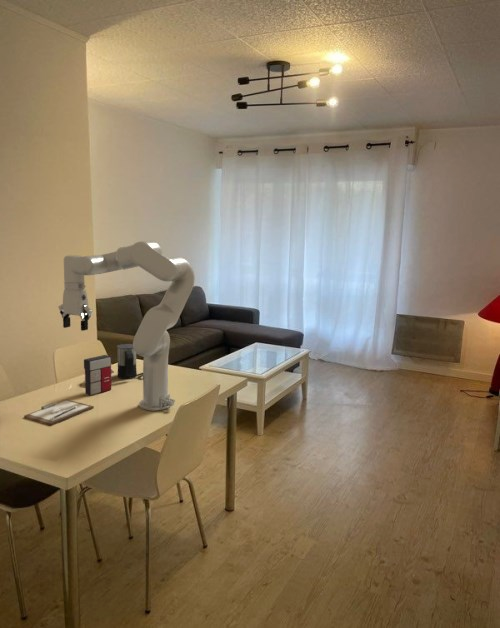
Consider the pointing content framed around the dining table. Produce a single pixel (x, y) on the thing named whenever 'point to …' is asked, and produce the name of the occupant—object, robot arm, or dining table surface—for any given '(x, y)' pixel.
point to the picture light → (62, 412)
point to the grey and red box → (97, 374)
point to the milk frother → (127, 361)
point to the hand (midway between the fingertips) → (75, 328)
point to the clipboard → (58, 412)
